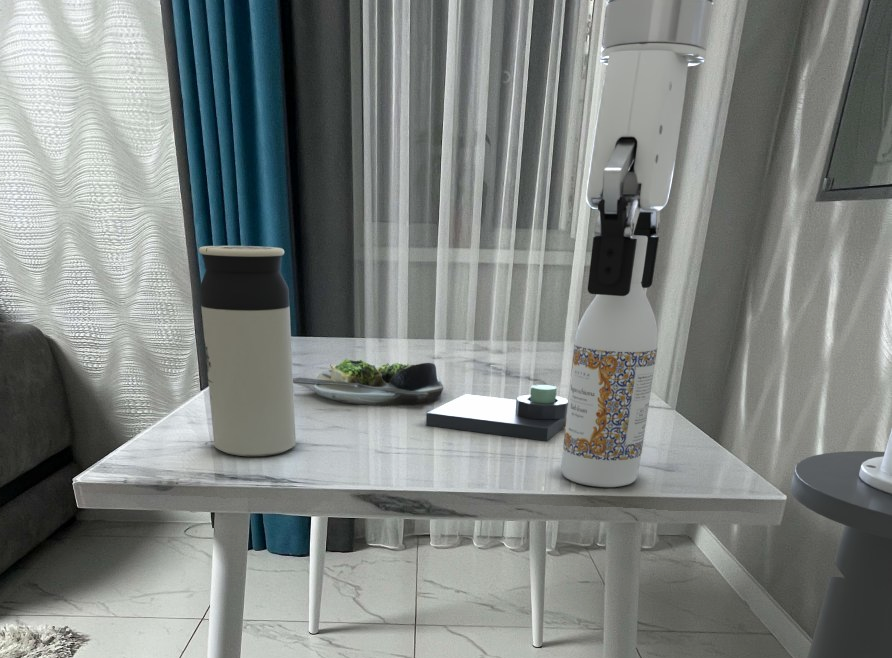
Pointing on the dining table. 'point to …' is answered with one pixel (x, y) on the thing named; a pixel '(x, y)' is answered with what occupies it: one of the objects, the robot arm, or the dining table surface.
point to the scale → (502, 416)
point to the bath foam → (611, 385)
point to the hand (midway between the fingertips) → (621, 290)
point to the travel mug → (248, 349)
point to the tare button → (543, 393)
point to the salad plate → (377, 383)
